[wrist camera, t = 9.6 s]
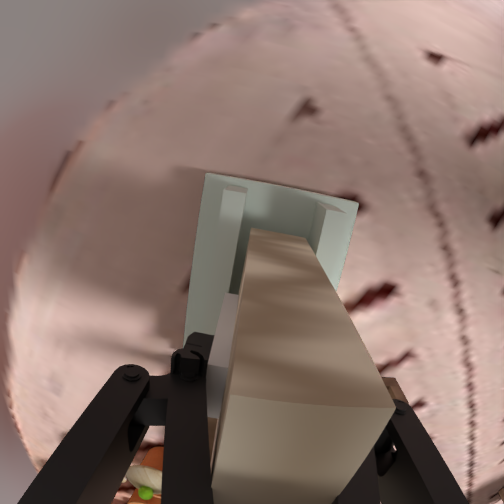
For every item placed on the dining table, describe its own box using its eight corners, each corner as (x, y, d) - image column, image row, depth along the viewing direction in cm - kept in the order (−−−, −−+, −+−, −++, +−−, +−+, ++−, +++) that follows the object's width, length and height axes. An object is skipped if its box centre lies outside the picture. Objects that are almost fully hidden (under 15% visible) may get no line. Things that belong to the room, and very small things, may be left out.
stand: (353, 201, 21) (375, 211, 17) (306, 371, 25) (313, 406, 21) (208, 172, 21) (195, 175, 17) (184, 351, 25) (172, 384, 21)
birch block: (305, 237, 19) (396, 407, 5) (273, 364, 21) (282, 558, 8) (250, 227, 19) (230, 394, 5) (227, 357, 21) (197, 551, 8)
